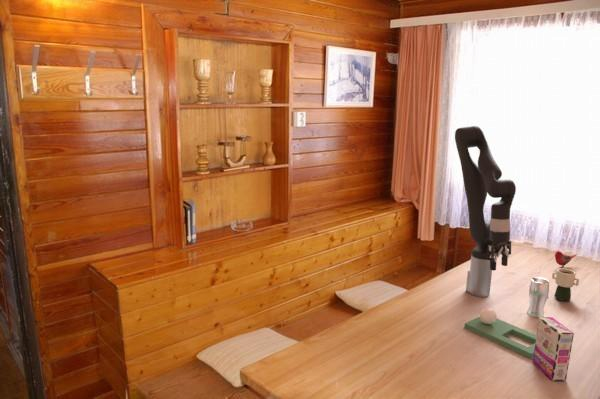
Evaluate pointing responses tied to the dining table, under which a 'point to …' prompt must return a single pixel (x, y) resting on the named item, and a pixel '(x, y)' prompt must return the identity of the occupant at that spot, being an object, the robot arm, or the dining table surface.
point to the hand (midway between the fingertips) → (498, 267)
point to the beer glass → (538, 296)
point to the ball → (487, 316)
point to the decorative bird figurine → (562, 258)
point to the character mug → (564, 283)
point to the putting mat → (503, 335)
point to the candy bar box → (553, 348)
